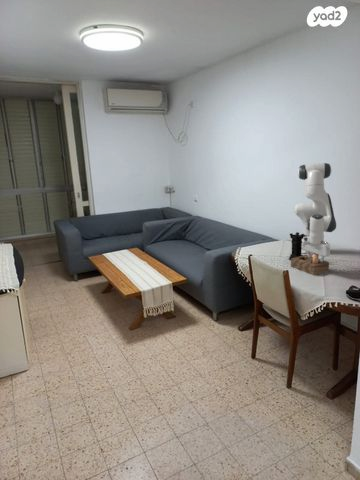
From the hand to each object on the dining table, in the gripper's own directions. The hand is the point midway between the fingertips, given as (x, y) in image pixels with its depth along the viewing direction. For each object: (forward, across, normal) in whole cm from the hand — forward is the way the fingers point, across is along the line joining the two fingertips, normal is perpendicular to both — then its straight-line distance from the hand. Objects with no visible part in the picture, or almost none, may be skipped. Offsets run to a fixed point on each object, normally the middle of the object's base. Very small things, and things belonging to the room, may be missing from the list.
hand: (315, 259), depth 220 cm
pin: (+6, 0, 0) cm, 6 cm away
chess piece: (+8, +23, -6) cm, 25 cm away
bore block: (+8, +5, 0) cm, 10 cm away
